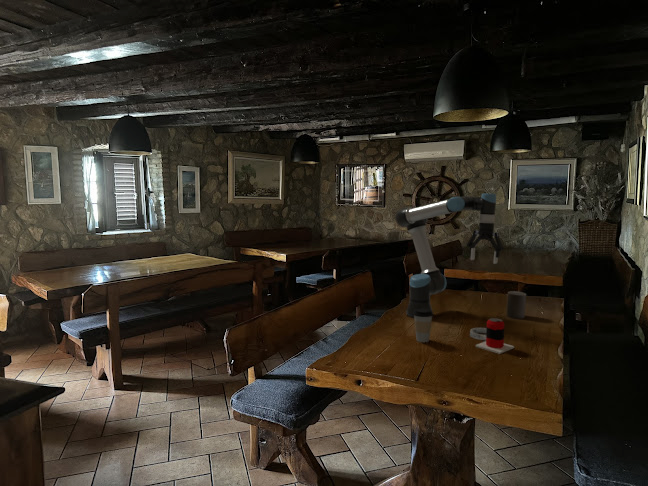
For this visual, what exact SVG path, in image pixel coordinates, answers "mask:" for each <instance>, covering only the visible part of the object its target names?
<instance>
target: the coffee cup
mask: <svg viewBox="0 0 648 486" xmlns="http://www.w3.org/2000/svg"><path fill="white" fill-rule="evenodd" d="M432 311H433V310H432ZM432 311H431V310H430V309H427V308H417V309H415V310H414V312H413V315H414V319H413V320H414V329H415V337H416V341H417V342H419V343H422V342H423V343H425V342H426V343H429V341H430V336H431V334H430V333H431V329H432V320H433V316H434V312H433V313H432ZM423 343H422V344H423Z"/></svg>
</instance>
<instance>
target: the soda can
mask: <svg viewBox="0 0 648 486" xmlns="http://www.w3.org/2000/svg"><path fill="white" fill-rule="evenodd" d="M485 328H486V334H485V335H486V340H485V341H486V345H487V346H489V347H492V348H502V347H503V346H504V344H505V322H504V321H503V320H502V319H500V318H494V317H492V318H489V319H488V320H487V321H486V327H485Z"/></svg>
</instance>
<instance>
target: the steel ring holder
mask: <svg viewBox="0 0 648 486" xmlns="http://www.w3.org/2000/svg"><path fill="white" fill-rule="evenodd" d="M486 328H487V327H473V328H471V329H470V330H469V337H471V338H472V339H475V340H478V341H486Z"/></svg>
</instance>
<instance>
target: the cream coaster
mask: <svg viewBox="0 0 648 486" xmlns="http://www.w3.org/2000/svg"><path fill="white" fill-rule="evenodd" d="M475 347H476V348H477V349H482V350H485V351H488V352H492V353H495V354H498V355H499V354H500V355H501V354H503V353H507V351H511V350H513V349H515V346H514V345H511V344H507V343H504V346H503V347H502V348H492V347H489V346H487V345H486V340H484V341H482V342H480V343H477V344H475Z"/></svg>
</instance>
